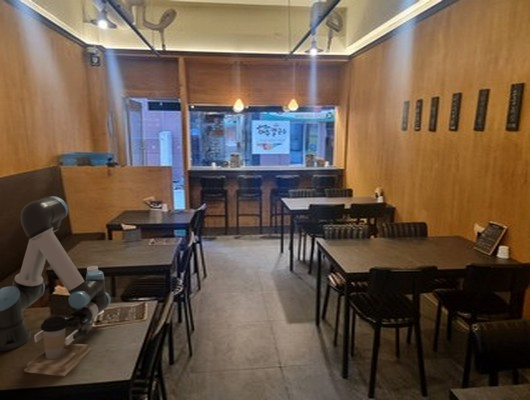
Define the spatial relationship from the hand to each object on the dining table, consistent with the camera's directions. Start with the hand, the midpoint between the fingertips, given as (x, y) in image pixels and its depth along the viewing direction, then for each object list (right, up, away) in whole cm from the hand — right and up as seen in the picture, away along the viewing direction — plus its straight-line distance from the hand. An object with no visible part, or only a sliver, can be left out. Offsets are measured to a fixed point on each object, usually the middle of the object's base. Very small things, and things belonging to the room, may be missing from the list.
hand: (50, 340), depth 146 cm
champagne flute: (-2, -3, +45) cm, 45 cm away
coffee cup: (-2, -9, +6) cm, 11 cm away
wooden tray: (+1, -10, +5) cm, 11 cm away
